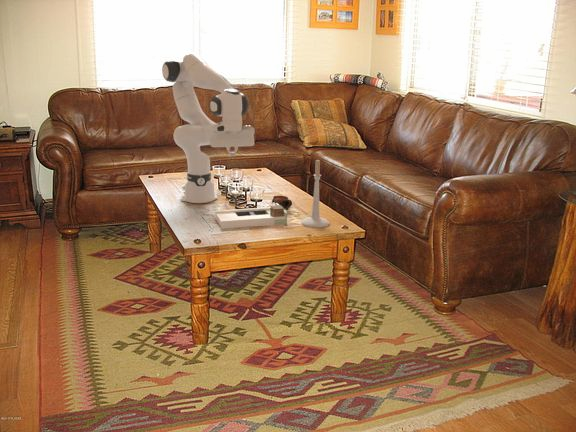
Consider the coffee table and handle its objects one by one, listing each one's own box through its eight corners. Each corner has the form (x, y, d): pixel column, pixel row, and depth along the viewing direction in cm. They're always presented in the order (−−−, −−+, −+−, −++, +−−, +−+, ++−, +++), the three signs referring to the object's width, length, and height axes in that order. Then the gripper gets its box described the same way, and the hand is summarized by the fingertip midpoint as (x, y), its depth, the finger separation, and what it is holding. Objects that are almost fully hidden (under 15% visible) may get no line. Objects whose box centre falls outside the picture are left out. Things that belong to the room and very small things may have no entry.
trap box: (215, 218, 288) (215, 206, 286) (277, 213, 297) (277, 202, 295) (222, 228, 273) (222, 216, 272) (286, 224, 282) (287, 212, 281)
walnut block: (270, 215, 286) (270, 205, 285) (280, 214, 287) (280, 205, 286) (273, 218, 281) (273, 208, 280) (283, 217, 283) (283, 208, 282)
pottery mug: (266, 211, 302) (267, 195, 304) (277, 216, 309) (279, 200, 311) (286, 209, 295) (288, 193, 297) (297, 214, 302) (298, 198, 304)
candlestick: (308, 229, 276) (311, 163, 267) (296, 220, 287) (298, 157, 278) (334, 226, 281) (337, 161, 272) (321, 218, 292) (324, 155, 283)
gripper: (253, 124, 283) (252, 154, 288) (208, 125, 277) (209, 155, 282) (256, 126, 278) (256, 156, 282) (211, 127, 272) (211, 158, 276)
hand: (232, 156), depth 282 cm, fingers closed
